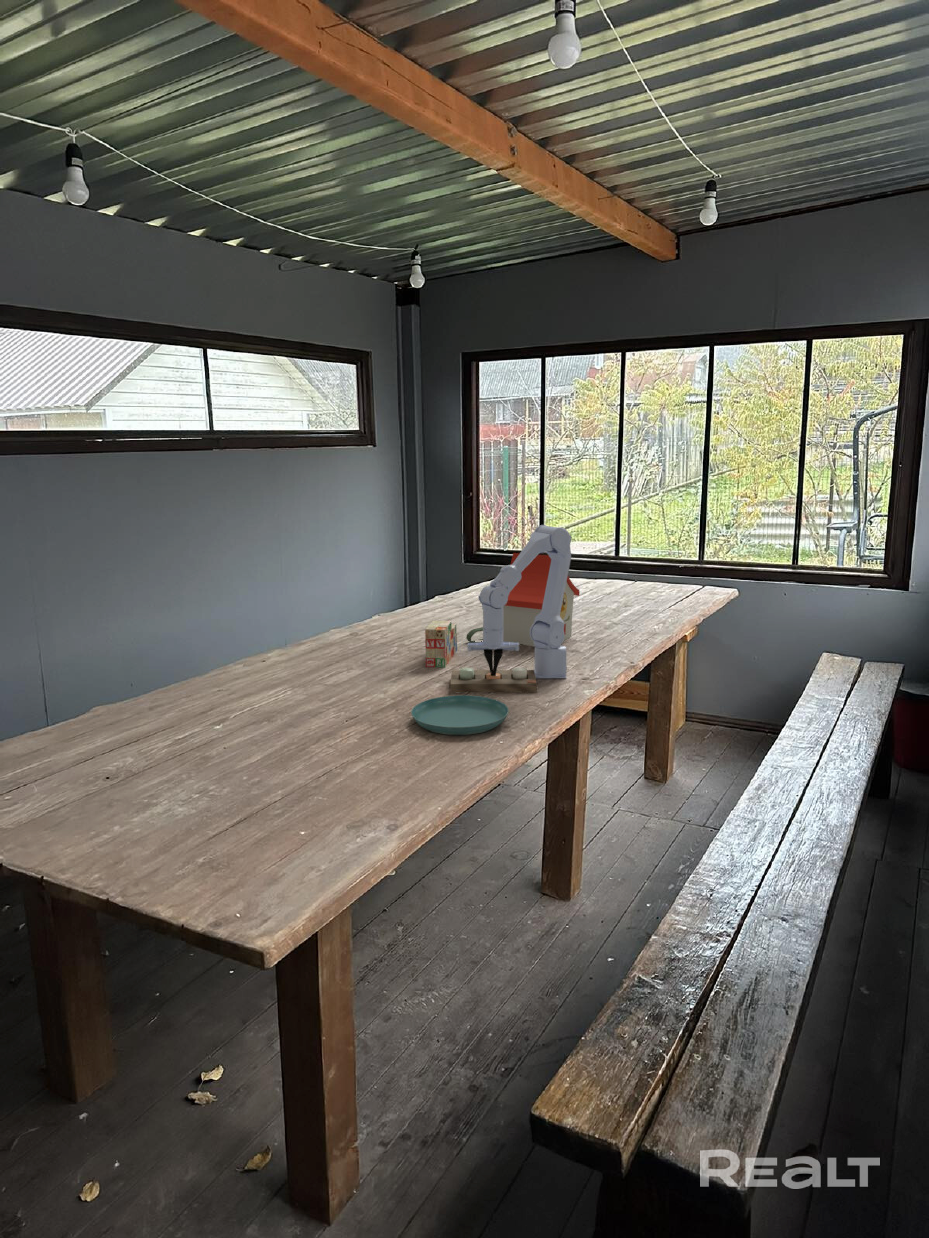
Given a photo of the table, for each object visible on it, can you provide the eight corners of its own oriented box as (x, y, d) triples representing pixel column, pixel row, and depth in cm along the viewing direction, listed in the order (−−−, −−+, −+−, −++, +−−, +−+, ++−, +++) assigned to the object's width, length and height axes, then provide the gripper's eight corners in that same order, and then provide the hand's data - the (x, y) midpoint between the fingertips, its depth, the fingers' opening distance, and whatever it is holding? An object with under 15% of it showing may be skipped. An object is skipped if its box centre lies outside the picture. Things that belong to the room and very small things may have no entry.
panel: (533, 678, 247) (533, 669, 246) (537, 692, 233) (537, 682, 233) (452, 678, 247) (451, 669, 247) (450, 692, 234) (450, 683, 233)
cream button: (526, 677, 242) (526, 667, 241) (527, 681, 238) (527, 671, 237) (512, 677, 242) (512, 667, 241) (513, 681, 238) (513, 671, 237)
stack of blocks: (438, 650, 281) (438, 614, 279) (457, 650, 280) (456, 614, 278) (425, 667, 261) (424, 628, 258) (445, 667, 259) (444, 629, 257)
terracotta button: (500, 682, 242) (500, 672, 241) (500, 686, 238) (500, 676, 238) (486, 682, 242) (486, 672, 242) (486, 686, 238) (486, 676, 238)
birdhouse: (541, 654, 274) (541, 563, 268) (464, 643, 290) (463, 557, 283) (587, 633, 303) (588, 550, 297) (515, 624, 319) (515, 545, 313)
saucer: (399, 714, 217) (398, 702, 216) (485, 702, 225) (485, 690, 225) (430, 745, 195) (430, 731, 194) (524, 730, 203) (525, 717, 203)
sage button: (474, 677, 242) (473, 667, 241) (474, 681, 238) (474, 671, 237) (460, 677, 242) (460, 667, 241) (459, 681, 238) (459, 671, 237)
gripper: (467, 631, 233) (467, 679, 236) (519, 631, 233) (519, 678, 236) (467, 626, 240) (467, 672, 243) (518, 625, 240) (518, 671, 242)
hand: (493, 675), depth 240 cm, fingers closed, pressing on terracotta button
